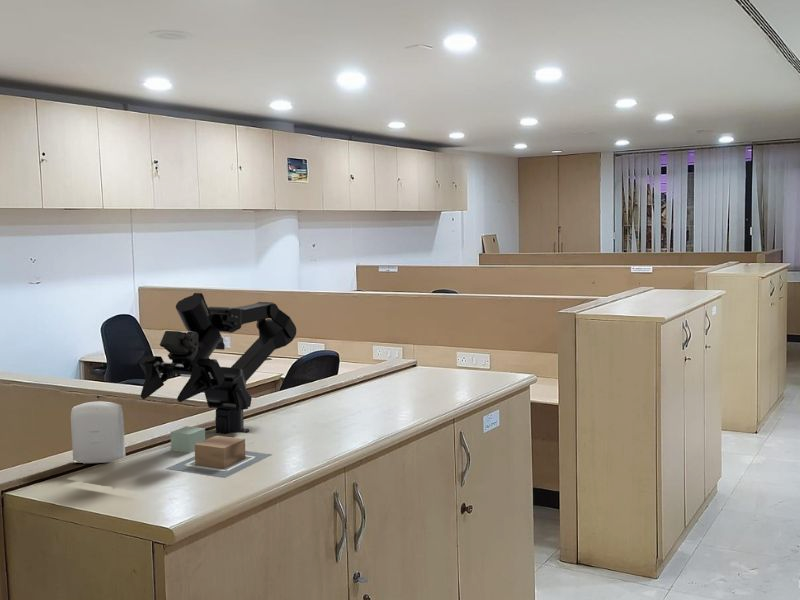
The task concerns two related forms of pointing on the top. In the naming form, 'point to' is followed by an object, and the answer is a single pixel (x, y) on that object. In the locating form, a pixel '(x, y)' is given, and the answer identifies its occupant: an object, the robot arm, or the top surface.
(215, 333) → the robot arm
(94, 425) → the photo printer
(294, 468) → the top surface
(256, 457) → the board
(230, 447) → the walnut block
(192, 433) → the sage cube
